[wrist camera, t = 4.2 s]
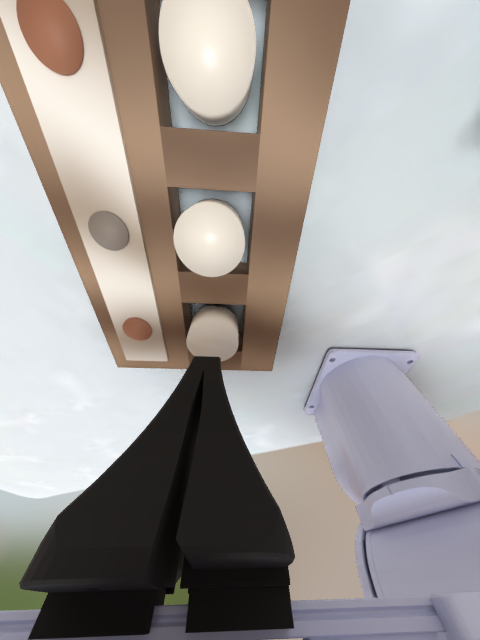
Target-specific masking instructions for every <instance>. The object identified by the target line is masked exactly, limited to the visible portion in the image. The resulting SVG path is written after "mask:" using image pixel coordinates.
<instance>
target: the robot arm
mask: <svg viewBox="0 0 480 640" xmlns="http://www.w3.org/2000/svg"><path fill="white" fill-rule="evenodd" d="M331 358H332V359H331ZM418 358H419V354H418V353H417V352H415V351H395V350H362V349H331V350H329V351H328V352H327V354H326V357H325V359H324V362H323V364H322V367H321V369H320V372H319V374H318V376H317V379H316V381H315V384H314V386H313V389H312V391H311V394H310V396H309V399H308V401H307V403H306V406H305V408H304V411H305V413H306V414H313V415H314V417H315V420H316V423H317V426H318V429H319V432H320V435H321V438H322V441H323V444H324V447H325V450H326V453H327V456H328V459H329V462H330V465H331V468H332V471H333V474H334V476H335V478H336V480H337V482H338V483H339V485H340V486H341V488H342V489H343V490H344V492H345V493H346V494H347V495H348V496H349V497H350V498H351V499H352V500H353V501H354V502H355V503H357V504H358V505H356V510H357V512H358V515H359V518H360V520H361V523H360V525H359V527H358V529H357V532H356V539H355V555H356V563H357V569H358V574H359V578H360V582H361V587H362V590H363V594H364V596H365V598H357V599H330V600H300V601H291V600H290V592H289V585H290V578H289V570H288V566H289V565H290V564H291V563H292V562H293V560H294V558H295V555H294V550H293V545H292V542H291V538H290V535H289V532H288V529H287V526H286V524H285V521H284V518H283V516H282V513H281V511H280V508H279V506H278V505H277V503H276V501H275V499H274V498H273V496H272V494H271V493H270V491H269V489H268V487H267V486H266V484H265V482H264V480H263V478H262V476H261V474H260V472H259V471H258V469H257V467H256V465H255V463H254V461H253V459H252V457H251V454H250V452H249V450H248V448H247V446H246V444H245V442H244V440H243V437H242V435H241V433H240V431H239V428H238V426H237V423H236V421H235V418H234V415H233V413H232V410H231V407H230V404H229V401H228V397H227V394H226V390H225V386H224V382H223V378H222V372H221V358H220V357H209V356H195V357H193V359H192V361H191V363H190V365H189V367H188V369H187V371H186V372H185V374H184V376H183V377H182V379H181V381H180V382H179V384H178V385H177V387H176V388H175V390H174V392H173V393H172V394H171V396H170V397H169V399H168V400H167V401H166V403H165V404H164V406H163V407H162V408H161V410H160V411H159V412H158V414H157V415H156V416H155V417H154V419H153V420H152V421H151V422H150V424H149V425H148V426H147V427H146V428H145V430H144V431H143V432H142V433H141V434H140V435H139V436H138V438H137V439H136V440H135V441H134V442H133V443H132V444H131V445H130V446H129V448H128V449H127V450H126V451H125V452H124V453H123V454H122V455H121V456H120V457H119V458H118V459H117V460H116V461H115V462H114V463H113V464H112V465H111V466H110V467H109V468H108V469H107V470H106V471H105V472H104V473H103V474H102V475H101V476H100V477H99V478H98V479H97V480H96V481H95V482H94V483H93V484H92V485H90V486H89V487H88V488H87V489H86V490H85V491H84V492H83V493H82V494H81V495H80V496H78V497H77V498H76V499H75V500H74V501H73V502H72V503H71V504H70V505H69V506H67V507H66V508H65V509H64V510H63V511H62V512H61V513H60V514H59V515H58V516H57V518H56V519H55V521H54V522H53V524H52V526H51V527H50V529H49V531H48V532H47V534H46V535H45V537H44V539H43V540H42V542H41V544H40V546H39V547H38V550H37V551H36V553H35V555H34V557H33V559H32V561H31V563H30V564H29V566H28V568H27V570H26V572H25V574H24V576H23V578H22V580H21V581H20V588H21V589H24V590H32V591H39V592H48V595H47V597H46V599H45V601H44V604H43V606H42V608H41V610H16V611H0V640H264V639H265V640H266V639H285V638H286V639H288V638H303V640H480V461H479V460H478V459H477V458H476V456H475V455H474V454H473V453H472V452H471V451H470V449H469V448H468V447H467V446H466V445H465V444H464V442H463V441H462V440H461V439H460V438H459V437H458V435H457V434H456V433H455V432H454V431H453V430H452V429H451V427H450V426H449V425H448V424H447V423H446V422H445V420H444V419H443V418H442V417H441V416H440V415H439V413H438V412H437V411H436V410H435V409H434V408H433V406H432V405H431V404H430V403H429V402H428V401H427V399H426V398H425V397H424V396H423V395H422V394H421V392H420V391H419V390H418V389H417V388H416V387H415V385H414V384H413V383H412V382H411V381H410V380H409V379H408V377H407V376H406V373H407V372H408V371H409V369H410V368H411V367H412V366H413V364H414V363H415V362H416V360H417V359H418ZM180 577H181V584H180V588H181V589H183V588H188V593H189V602H188V605H187V604H186V605H164V599H165V594H173V593H174V589H175V584H176V582H177V581H178V580H179V579H180Z"/></svg>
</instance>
